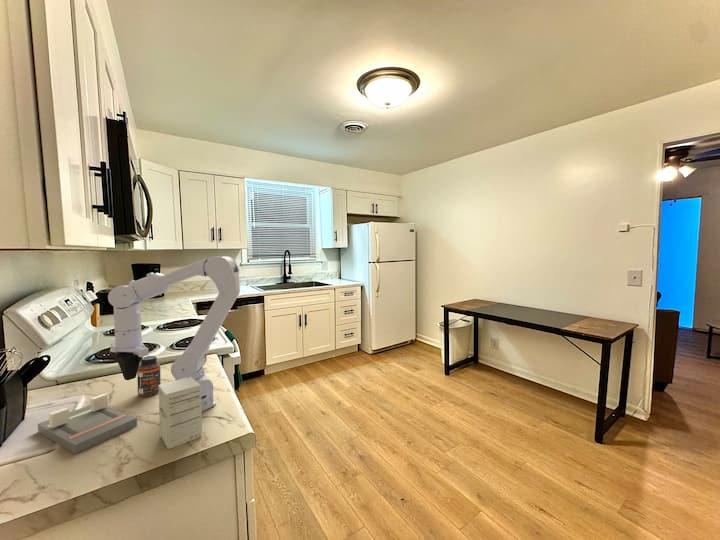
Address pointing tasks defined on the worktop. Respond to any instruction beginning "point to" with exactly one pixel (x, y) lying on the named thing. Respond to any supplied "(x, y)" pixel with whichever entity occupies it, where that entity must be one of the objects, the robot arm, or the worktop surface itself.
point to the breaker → (59, 417)
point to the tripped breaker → (98, 402)
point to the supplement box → (180, 411)
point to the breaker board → (88, 428)
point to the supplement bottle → (148, 376)
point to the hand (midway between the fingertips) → (130, 378)
